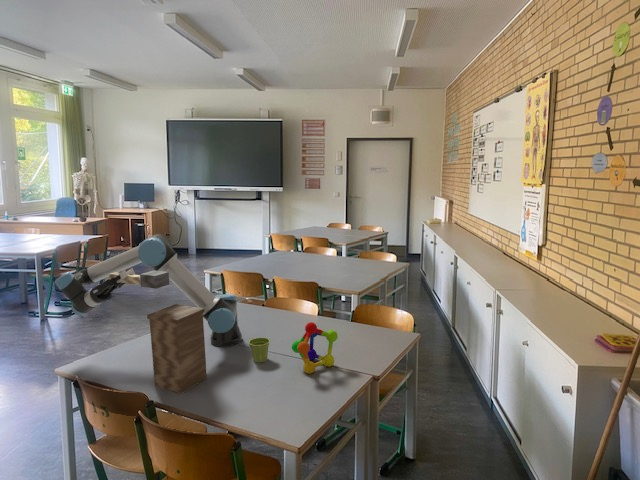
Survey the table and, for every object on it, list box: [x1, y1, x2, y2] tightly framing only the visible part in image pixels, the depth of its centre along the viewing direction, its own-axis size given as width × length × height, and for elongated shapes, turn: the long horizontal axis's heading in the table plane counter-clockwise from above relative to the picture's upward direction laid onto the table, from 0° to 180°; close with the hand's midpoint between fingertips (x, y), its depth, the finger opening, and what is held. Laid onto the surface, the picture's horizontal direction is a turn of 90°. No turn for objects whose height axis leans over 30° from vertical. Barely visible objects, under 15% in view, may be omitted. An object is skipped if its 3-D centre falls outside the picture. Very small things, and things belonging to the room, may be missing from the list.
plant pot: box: [248, 337, 271, 363], centre depth 201 cm, size 9×9×9 cm
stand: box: [146, 303, 208, 394], centre depth 180 cm, size 15×15×29 cm
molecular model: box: [291, 321, 338, 375], centre depth 193 cm, size 21×15×20 cm
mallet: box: [108, 270, 170, 289], centre depth 185 cm, size 28×7×5 cm, turn 64°
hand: (129, 272), depth 186 cm, fingers closed on mallet, 3 cm apart
